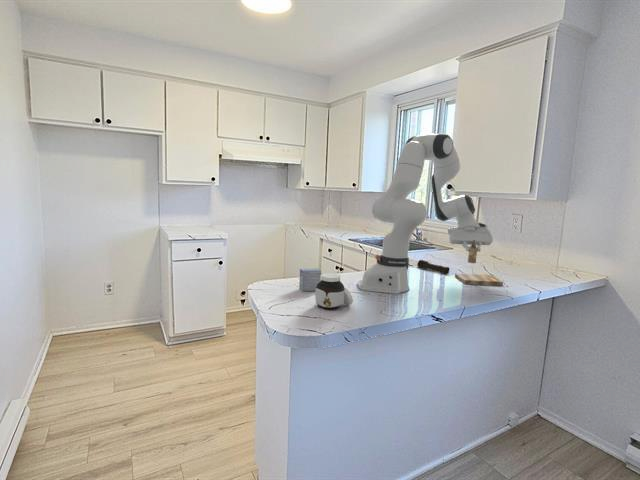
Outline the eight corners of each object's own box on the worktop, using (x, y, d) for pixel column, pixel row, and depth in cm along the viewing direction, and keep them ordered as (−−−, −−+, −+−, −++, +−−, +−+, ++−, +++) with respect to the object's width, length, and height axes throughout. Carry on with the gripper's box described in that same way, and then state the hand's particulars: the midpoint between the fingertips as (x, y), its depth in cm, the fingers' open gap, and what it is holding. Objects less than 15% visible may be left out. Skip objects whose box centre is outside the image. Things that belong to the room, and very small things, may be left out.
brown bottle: (469, 263, 174) (471, 240, 172) (466, 261, 178) (468, 239, 176) (477, 263, 174) (479, 240, 172) (474, 261, 178) (476, 239, 176)
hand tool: (449, 274, 190) (450, 265, 189) (445, 275, 188) (446, 266, 187) (420, 266, 205) (421, 258, 204) (415, 267, 203) (416, 259, 202)
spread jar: (311, 306, 130) (313, 275, 129) (328, 299, 140) (330, 269, 138) (340, 314, 124) (342, 281, 122) (356, 305, 133) (358, 275, 131)
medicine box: (316, 287, 154) (317, 267, 153) (320, 290, 150) (321, 270, 149) (298, 288, 151) (299, 268, 150) (302, 292, 147) (303, 271, 146)
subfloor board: (464, 283, 171) (464, 279, 170) (454, 276, 184) (455, 273, 183) (502, 285, 170) (503, 281, 170) (490, 278, 183) (491, 274, 183)
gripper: (449, 223, 180) (453, 246, 172) (490, 224, 180) (497, 247, 172) (445, 231, 185) (449, 253, 177) (485, 232, 185) (492, 255, 177)
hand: (473, 250), depth 174 cm, fingers closed on brown bottle, 4 cm apart
